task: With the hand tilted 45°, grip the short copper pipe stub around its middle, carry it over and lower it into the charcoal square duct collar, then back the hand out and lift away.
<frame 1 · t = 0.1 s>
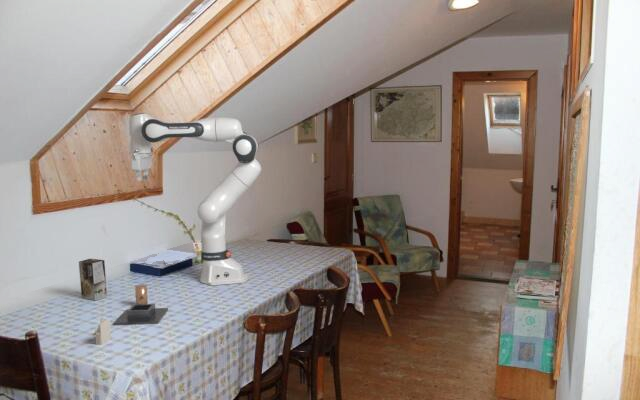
hand: (142, 180, 256), 48 cm above the table, tool pointing down, fingers open, 8 cm apart
coffee box: (94, 298, 239), on the table
architectural model: (103, 343, 187), on the table
copper pipe stub: (142, 305, 226), on the table
duct collar: (141, 317, 211), on the table
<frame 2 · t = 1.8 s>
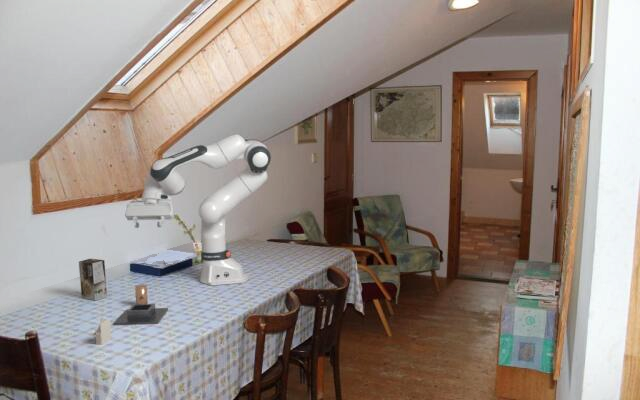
hand: (147, 226, 238), 30 cm above the table, tool tilted 45°, fingers open, 8 cm apart
nothing on the table moved.
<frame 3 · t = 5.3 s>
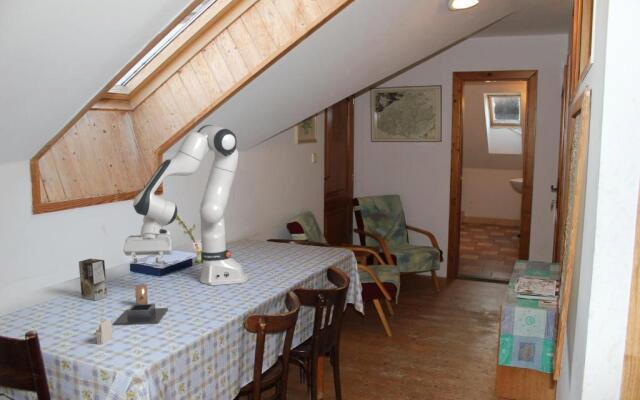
hand: (146, 262, 234), 15 cm above the table, tool tilted 45°, fingers open, 8 cm apart
nothing on the table moved.
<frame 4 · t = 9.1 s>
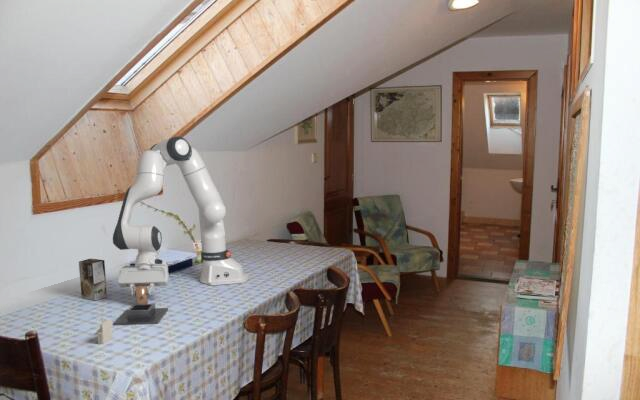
hand: (141, 294, 225), 5 cm above the table, tool tilted 45°, fingers closed on copper pipe stub, 4 cm apart
copper pipe stub: (142, 305, 226), on the table, touching gripper
everything else where it was.
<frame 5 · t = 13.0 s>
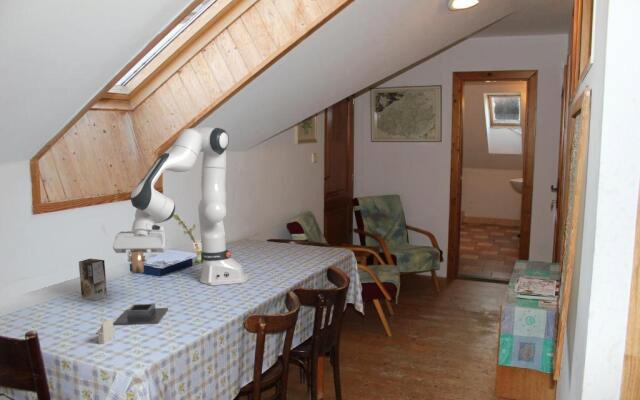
hand: (137, 260, 216), 20 cm above the table, tool tilted 45°, fingers closed on copper pipe stub, 4 cm apart
copper pipe stub: (138, 272, 218), point 15 cm above the table, touching gripper
everything else where it was.
when the fingers open (7 cm above the table, at t = 17.2 s): copper pipe stub drops 1 cm, resting on duct collar.
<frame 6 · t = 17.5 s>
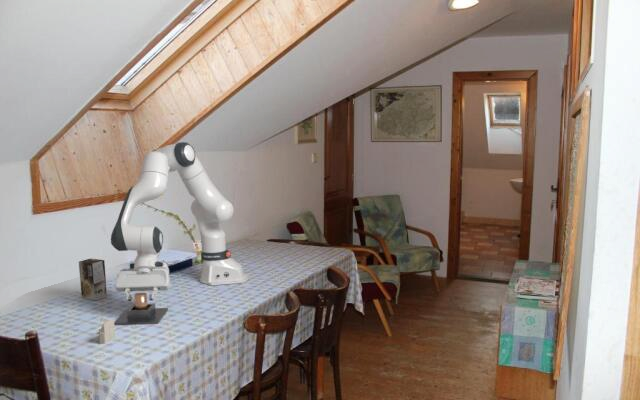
hand: (140, 300, 210), 7 cm above the table, tool tilted 45°, fingers open, 7 cm apart
copper pipe stub: (141, 315, 211), point 1 cm above the table, touching duct collar
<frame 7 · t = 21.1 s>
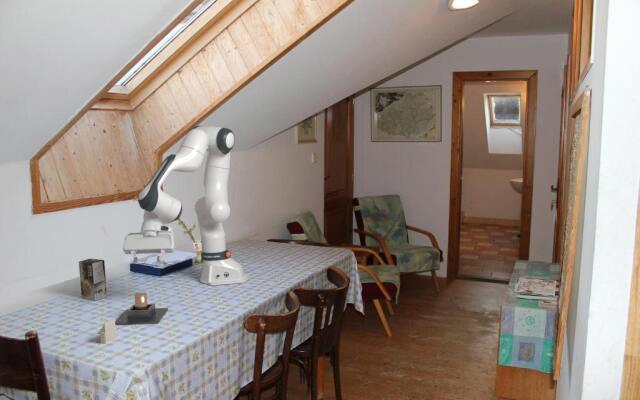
hand: (146, 261, 220), 19 cm above the table, tool tilted 45°, fingers open, 8 cm apart
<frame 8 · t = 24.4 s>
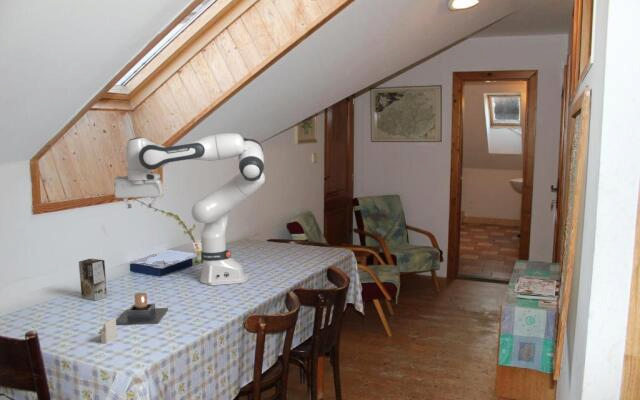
hand: (140, 207, 241), 37 cm above the table, tool pointing down, fingers open, 8 cm apart
at the end: copper pipe stub 0.1 cm off-centre on the duct collar, point 0.8 cm above the duct collar's base; copper pipe stub tilted 1°; the gripper is holding nothing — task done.
